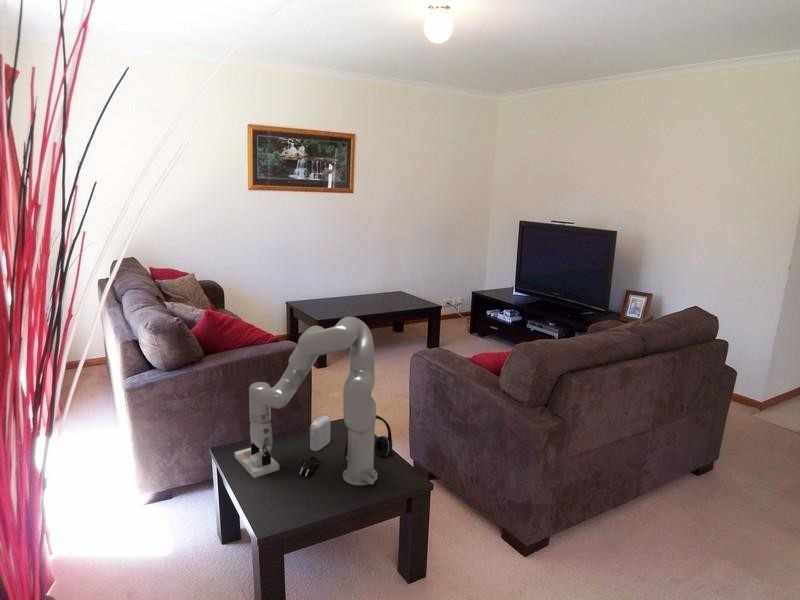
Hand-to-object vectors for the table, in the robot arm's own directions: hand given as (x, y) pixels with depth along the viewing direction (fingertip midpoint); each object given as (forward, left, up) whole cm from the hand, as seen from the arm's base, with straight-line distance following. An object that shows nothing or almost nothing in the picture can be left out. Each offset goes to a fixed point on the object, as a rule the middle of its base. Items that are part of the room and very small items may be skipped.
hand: (260, 459), depth 201 cm
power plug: (-10, -19, -6) cm, 22 cm away
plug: (0, +3, -1) cm, 3 cm away
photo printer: (+3, -27, -4) cm, 27 cm away
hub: (+4, 0, -4) cm, 6 cm away
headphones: (-17, -37, -4) cm, 41 cm away
